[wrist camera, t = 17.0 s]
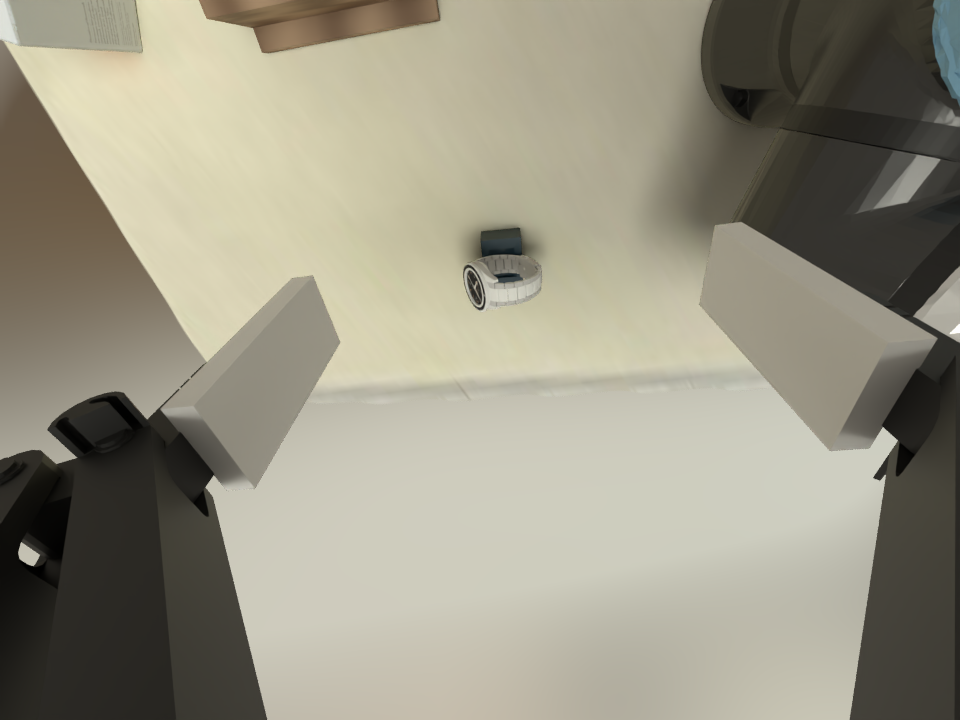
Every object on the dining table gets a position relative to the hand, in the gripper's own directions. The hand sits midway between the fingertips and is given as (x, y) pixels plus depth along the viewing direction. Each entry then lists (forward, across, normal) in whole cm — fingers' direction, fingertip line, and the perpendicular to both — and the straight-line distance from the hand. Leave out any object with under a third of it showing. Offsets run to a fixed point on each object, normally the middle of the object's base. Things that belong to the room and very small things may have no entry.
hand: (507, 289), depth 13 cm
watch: (+33, +1, +11) cm, 35 cm away
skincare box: (+33, +33, -15) cm, 49 cm away
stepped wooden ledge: (+33, +12, -13) cm, 37 cm away
